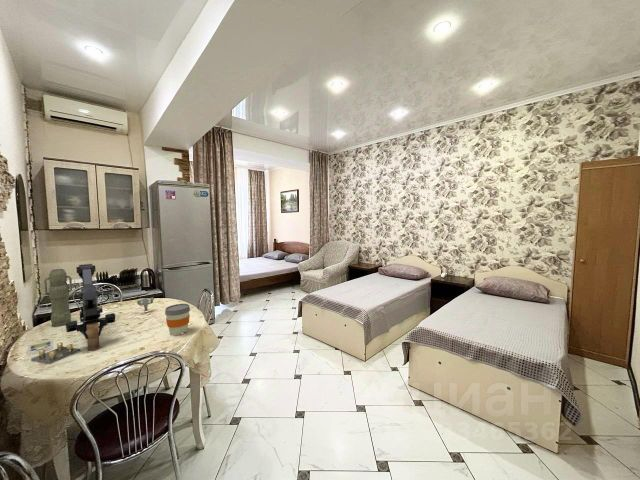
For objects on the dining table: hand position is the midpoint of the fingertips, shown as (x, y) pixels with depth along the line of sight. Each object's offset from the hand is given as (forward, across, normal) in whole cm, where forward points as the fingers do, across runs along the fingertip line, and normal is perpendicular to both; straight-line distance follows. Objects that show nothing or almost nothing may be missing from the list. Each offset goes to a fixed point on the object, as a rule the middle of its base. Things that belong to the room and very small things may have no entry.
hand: (93, 337), depth 126 cm
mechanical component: (-27, +30, +36) cm, 54 cm away
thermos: (-37, -13, +47) cm, 61 cm away
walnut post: (+4, 0, +6) cm, 7 cm away
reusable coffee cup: (+10, +36, -1) cm, 38 cm away
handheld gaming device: (-11, -20, +22) cm, 31 cm away
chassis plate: (+1, -13, +9) cm, 16 cm away
